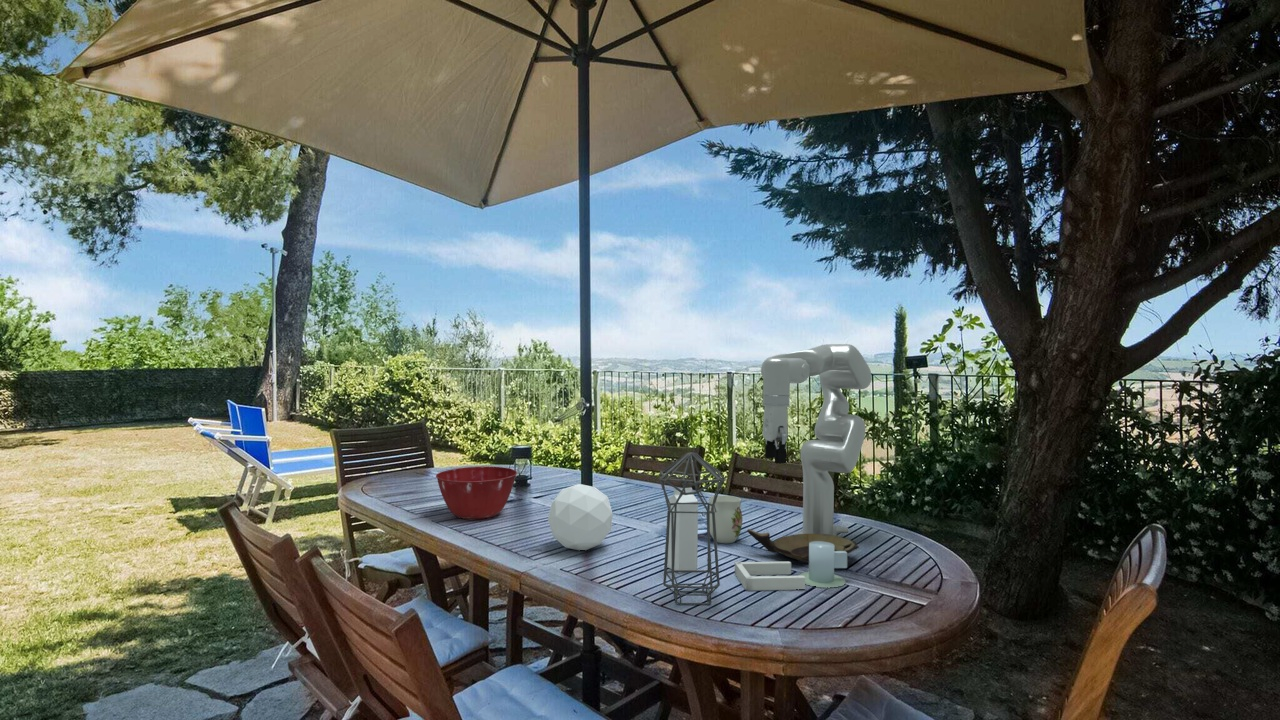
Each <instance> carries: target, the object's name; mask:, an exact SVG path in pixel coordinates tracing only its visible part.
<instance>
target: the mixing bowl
mask: <svg viewBox="0 0 1280 720" xmlns="http://www.w3.org/2000/svg"><path fill="white" fill-rule="evenodd" d="M517 474H518V471H517V470H515V469H513V468H510V467H509V468H508V467H503V466H470V467H469V466H468V467H458V468H453V469H447V470H443V471H440V472H438V473H436V475H435V478H436V480H437V483H438V487H439V490H440V493H441V496H442V498H443V501H444V503H445V505H446V507H447V508H448V510H449V511H450V513H452V515H454V516H456V517H457V518H459V517H460V518H459V519H461V518H464V519H463V520H466V519H480V520H485V518H487V519H491V518H493V517H495V516H497V514H499V513H500V512H501V511H502V510H503V509H504V507H505V506H506V505H507V502H508V501H509V498H510V495H511V494H512V490H513V487H514V484H515V480H516V476H517Z"/></svg>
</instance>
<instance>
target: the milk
mask: <svg viewBox="0 0 1280 720" xmlns="http://www.w3.org/2000/svg"><path fill="white" fill-rule="evenodd" d="M679 489H680V490H682V489H683V487H682V488H679ZM683 492H684V491H683ZM685 492H686V493H688V492H693V488H692V487H686V488H685ZM679 495H680V492H679V491H678V490H676V489H675V488H674V489H673V494H672V496H670V497H668V499H669V502H670V503H676V501H677V499H678V497H679ZM678 503H699V501H698V499H697V497H696V496H695V494H691V495H682V497H681V498H680V500H679V501H678ZM673 506H674V505H671V509H672V507H673ZM672 511H675V507H674V508H673V510H672ZM677 511H685V512H699V504H677ZM698 524H699V513H676V537H675V561H674V570H698V553H699V552H698V551H699V550H698V548H699V547H698V545H699V544H698V542H699V541H698V537H699V536H698V535H699V534H698V533H699V530H698V529H699V527H698V526H699V525H698ZM667 569H670V570H672V547H671V513H670V528H669V545H668V563H667ZM684 573H685V572H678V574H684Z"/></svg>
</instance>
